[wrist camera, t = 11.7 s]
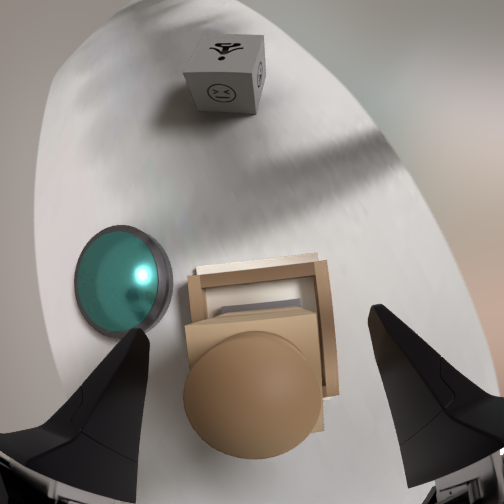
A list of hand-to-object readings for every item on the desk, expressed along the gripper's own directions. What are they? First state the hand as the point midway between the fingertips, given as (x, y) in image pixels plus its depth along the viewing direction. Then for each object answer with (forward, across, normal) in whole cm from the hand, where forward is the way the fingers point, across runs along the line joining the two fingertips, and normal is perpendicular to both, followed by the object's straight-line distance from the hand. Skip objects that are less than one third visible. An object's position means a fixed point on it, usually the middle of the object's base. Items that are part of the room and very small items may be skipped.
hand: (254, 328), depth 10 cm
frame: (+5, 0, +6) cm, 8 cm away
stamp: (+4, 0, +6) cm, 8 cm away
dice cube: (+19, 0, -7) cm, 20 cm away
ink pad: (+8, +10, +3) cm, 13 cm away
